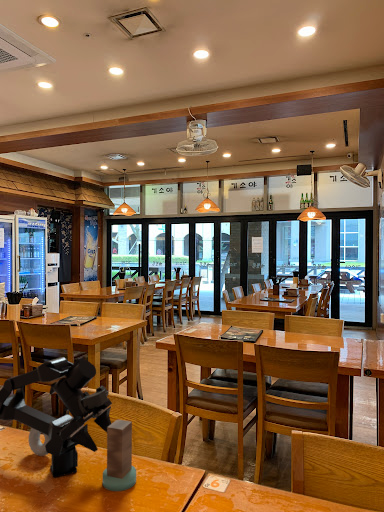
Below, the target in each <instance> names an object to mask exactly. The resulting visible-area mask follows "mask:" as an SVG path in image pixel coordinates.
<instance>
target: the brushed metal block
mask: <svg viewBox="0 0 384 512" xmlns="http://www.w3.org/2000/svg"><path fill="white" fill-rule="evenodd" d="M132 439H133V421H130V420H124V419H116V420H114V421H113V422H111V425H109V426H108V427H107V433H106V468H107V476H110V477H115V478H120V479H123V477H124V476H125V475H126V474H127V473H128V472H129V471H130V470H131V469H132V466H133V465H132V463H133V461H132V460H133V455H132V454H133V451H132V448H133V444H132V443H133V440H132Z"/></svg>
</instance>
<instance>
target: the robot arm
mask: <svg viewBox="0 0 384 512" xmlns="http://www.w3.org/2000/svg"><path fill="white" fill-rule="evenodd" d="M96 375H97V369H96V366H95V365H94V364H93V363H91V362H90V361H88V360H85V358H84V357H83V356H82V357H78V358H77V359H76V360H75V361H74V362H71V361H68V360H67V358H65V357H64V356H61V357H57V358H54V359H51V360H48V361H44V362H43V363H41V364H40V365H38V366H37V367H36V368H35V369H33V370H30V371H28V372H25V373H22V374H19V375H15V376H12V377H9V378H7V379H6V380H5V381H4V382H3V385H2V388H1V389H0V420H1V421H17V422H18V423H20V424H23V425H25V426H28V427H30V429H31V428H33V429H35V430H37V431H40V432H42V433H41V434H43V433H44V434H46V435H48V437H49V440H50V441H49V442H48V443H47V444H46V445H45V448H46V452H47V453H49V454H48V455H51V457H50V458H51V459H50V460H51V462H50V463H51V464H50V466H49V469H50V471H51V474H52V478H59V477H63V476H66V475H71V474H75V473H78V469H77V467H78V463H79V462H78V460H79V458H78V456H79V453H78V450H77V448H76V446H78V445H80V446H82V447H84V448H86V449H88V450H89V451H91V452H93V453H95V452H97V451H98V450H99V449H98V446H97V444H96V443H95V441H94V439H93V438H92V437H91V434H90V433H89V431H88V430H89V429H88V427H89V425H88V423H86V422H87V421H90V419H93V422H94V423H95V424H96V425H97V426H98V427H99V428H101V430H103V431H104V432H105V433H106V434H107V427H108V426H109V425H111V424H112V421H111V417H110V412H111V409H112V405H113V402H112V401H111V400H110V398H108V396H109V394H110V392H109V390H107V388H106V386H104V385H101V386H99V387H97V388H96V389H95V390H96V391H95V392H94V393H91V394H90V393H89V392H88V391H84V392H83V391H82V389H83V388H84V387H85V386H86V385H87V384H89V382H90V381H91V380H92V379H94V378H95V376H96ZM58 379H59V380H58ZM55 380H58V381H55ZM52 381H55V382H53V383H51V384H50V389H49V395H53V394H54V393H56V395H57V396H58V398H59V399H60V400H61V401H62V403H63V405H64V406H65V407H64V408H63V411H64V412H67V411H68V412H69V413H70V414H65V415H63V416H61V417H59V418H56V417H54V416H51V415H50V414H47V413H45V412H42V411H41V410H38V409H36V408H33V407H32V406H29V405H27V404H26V402H25V395H26V394H25V391H24V388H25V387H26V386H28V385H31V384H34V383H36V382H37V383H39V382H40V383H50V382H52ZM13 391H15V393H13V394H12V392H13ZM85 423H86V424H85ZM44 434H43V435H44Z"/></svg>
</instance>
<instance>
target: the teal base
mask: <svg viewBox="0 0 384 512" xmlns="http://www.w3.org/2000/svg"><path fill="white" fill-rule="evenodd" d="M136 482H137V468H136V467H135V466H134V465H132V469H131V470H130V471H129V472H128V473H127V474H126V475H125V476H124V477H123V479H120V478H115V477H110V476H107V467H106V468H105V469H104V470H103V472H102V486H103V488H105V490H108V491H112V492H122V491H123V492H124V491H126V490H128V489H131V488H132V487H134V486H135V484H136Z"/></svg>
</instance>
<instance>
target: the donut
mask: <svg viewBox="0 0 384 512" xmlns="http://www.w3.org/2000/svg"><path fill="white" fill-rule="evenodd" d="M41 435H43V436H44V442H43V443H42V441H41ZM49 441H50V440H49V437H48V435H46V434H44V433H42V432H40V431H37V430H35V429H33V428H31V427H30V430H29V434H28V446H29V448H30V451H31V452H32V453H33V454H35V455H36V456H40V457H43V456H46V455H47V456H48V455H50V454H49V453H47V452H46V448H45V445H46V444H47V443H48V442H49Z"/></svg>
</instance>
